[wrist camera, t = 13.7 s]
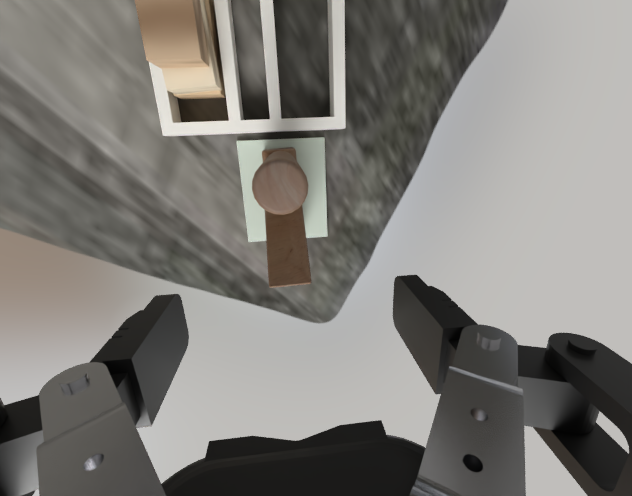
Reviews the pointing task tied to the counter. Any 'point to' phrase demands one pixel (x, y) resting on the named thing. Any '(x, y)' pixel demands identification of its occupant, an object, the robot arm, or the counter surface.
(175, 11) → the offcut stack
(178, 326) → the robot arm
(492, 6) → the counter surface
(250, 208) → the sage mat
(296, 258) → the wooden block
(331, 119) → the offcut rack
